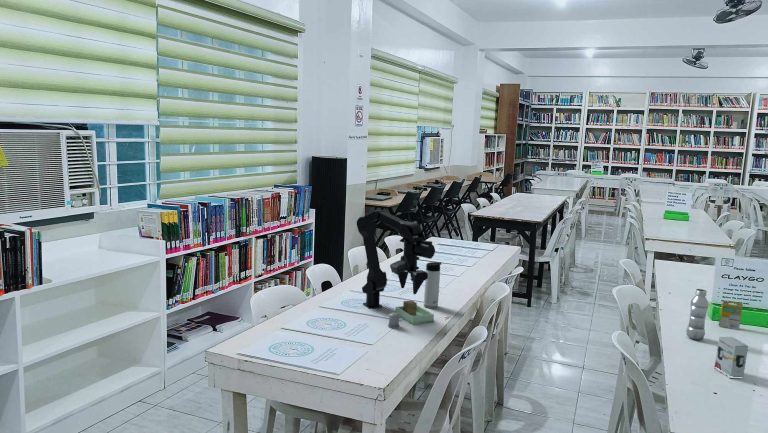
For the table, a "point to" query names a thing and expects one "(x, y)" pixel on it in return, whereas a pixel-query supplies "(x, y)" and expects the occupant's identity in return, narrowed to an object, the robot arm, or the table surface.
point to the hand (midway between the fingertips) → (408, 291)
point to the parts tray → (420, 316)
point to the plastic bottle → (698, 315)
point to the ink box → (731, 356)
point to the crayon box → (730, 315)
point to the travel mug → (432, 285)
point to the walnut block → (410, 307)
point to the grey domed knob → (393, 320)
